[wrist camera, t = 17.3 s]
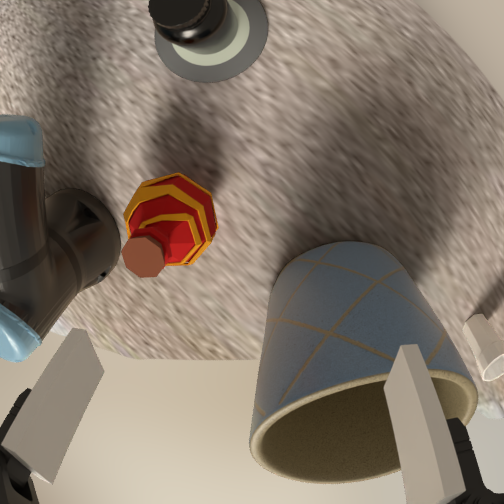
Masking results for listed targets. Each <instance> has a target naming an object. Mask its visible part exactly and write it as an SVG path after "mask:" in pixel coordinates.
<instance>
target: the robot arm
mask: <svg viewBox="0 0 504 504" xmlns="http://www.w3.org/2000/svg"><path fill="white" fill-rule="evenodd" d="M44 166H45V160H44V158H43V142H42V129H41V126H40V124H39V123H38V122H37V121H36V120H35V119H33V118H31V117H28V116H21V115H5V114H0V357H1V358H3V359H5V360H8V361H11V362H21V361H23V360H25V359H27V358H28V357H29V356H30V355H31V353H32V352H33V351H34V350H35V349H36V348H37V346H40V345H41V343H42V340H43V339H44V338H45V336H46V335H47V333H48V332H49V331H50V329H51V328H52V327H53V325H54V324H55V322H56V321H57V320H58V318H59V317H60V316H61V314H62V313H63V312H64V310H65V309H66V308H67V306H68V305H69V304H70V303H71V301H72V300H73V299H74V297H75V296H76V295H77V294H78V293H79V292H81V291H83V290H85V289H87V288H89V287H91V286H93V285H95V284H97V283H99V282H101V281H102V280H104V279H105V278H106V277H107V276H108V275H109V274H110V272H111V271H112V270H113V269H114V267H115V266H116V264H117V262H118V259H119V255H120V237H119V232H118V229H117V226H116V224H115V222H114V220H113V218H112V216H111V214H110V213H109V211H108V210H107V209H106V208H105V206H104V205H103V204H102V203H101V202H100V201H99V200H97V199H96V198H95V197H94V196H92V195H90V194H89V193H87V192H85V191H82V190H79V189H72V188H69V189H63V190H60V191H58V192H56V193H54V194H52V195H51V196H49V197H48V198H46V199H45V190H44ZM103 374H104V370H103V368H102V365H101V363H100V361H99V359H98V357H97V354H96V352H95V350H94V348H93V345H92V343H91V341H90V338H89V336H88V333H87V331H86V330H83V329H77V328H72V330H71V331H70V333H69V334H68V335H67V337H66V338H65V340H64V341H63V343H62V344H61V346H60V347H59V349H58V350H57V352H56V353H55V355H54V356H53V358H52V359H51V361H50V362H49V364H48V365H47V367H46V368H45V370H44V372H43V373H42V375H41V376H40V378H39V379H38V381H37V383H36V384H35V386H34V387H33V389H32V390H31V389H28V388H27V389H26V390H25V391H24V392H23V393H21V394H20V395H19V397H18V398H17V400H16V401H15V403H14V407H12V408H11V410H10V412H9V414H8V415H7V417H6V418H5V420H4V422H3V424H2V425H1V427H0V504H39V502H38V498H37V495H36V491H35V488H34V484H33V481H32V479H31V477H30V474H31V472H32V473H33V474H34V475H35V476H37V477H38V478H40V479H41V480H44V481H46V482H48V483H50V484H53V482H54V479H55V477H56V475H57V473H58V470H59V468H60V465H61V463H62V461H63V458H64V456H65V454H66V451H67V449H68V447H69V445H70V442H71V440H72V438H73V436H74V434H75V432H76V429H77V427H78V425H79V423H80V421H81V419H82V416H83V414H84V412H85V410H86V408H87V406H88V404H89V402H90V400H91V398H92V396H93V394H94V391H95V390H96V388H97V385H98V384H99V382H100V380H101V378H102V376H103ZM384 392H385V396H386V400H387V404H388V408H389V413H390V417H391V421H392V426H393V430H394V435H395V440H396V445H397V450H398V455H399V460H400V465H401V471H402V476H403V481H404V488H405V494H406V500H407V504H504V493H501V494H498V493H493V492H492V491H491V490H489V489H487V488H486V487H485V485H484V483H483V481H482V477H481V474H480V471H479V467H478V463H477V460H476V457H475V454H474V451H473V450H472V448H473V447H472V444H471V441H469V435H468V432H467V429H466V427H465V426H464V424H463V423H462V422H461V421H460V419H459V418H458V417H456V418H451V419H445V416H444V413H443V410H442V407H441V404H440V402H439V399H438V396H437V393H436V390H435V388H434V385H433V382H432V380H431V377H430V374H429V372H428V369H427V367H426V364H425V362H424V359H423V357H422V354H421V352H420V349H419V347H418V345H417V344H410V345H401V346H400V348H399V351H398V354H397V356H396V359H395V361H394V364H393V366H392V369H391V371H390V374H389V376H388V378H387V381H386V383H385V385H384Z"/></svg>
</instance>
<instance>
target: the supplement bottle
mask: <svg viewBox="0 0 504 504" xmlns="http://www.w3.org/2000/svg"><path fill="white" fill-rule="evenodd" d="M148 8H149V13H150V16H151V17H152V18H153V23H154V26H155V29H156V30H157V32H158V33H159V35H160V36H161V37H162V38H164V39H165V40H167V41H168V42H170V43H173V44H175V45H177V46H179V47H182V48H184V49H186V50H188V51H191V52H193V53H196V54H202V55H209V54H214V53H217V52H220V51H222V50H224V49H225V48H226V47H228V46H229V45H230V44H231V43H232V42H233V40H234V39H235V37H236V35H237V31H238V20H237V17H236V15H235V13H234V11H233V9H232V8H231V6H230V4H229V2H228V1H227V0H150V1H149V6H148Z"/></svg>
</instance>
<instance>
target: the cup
mask: <svg viewBox="0 0 504 504" xmlns="http://www.w3.org/2000/svg"><path fill="white" fill-rule="evenodd" d="M462 331H463V333H464V334H465V337H466V339H467V341H468V343H469V345H470V347H471V349H472V352H473V354H474V356H475V358H476V361H477V367H478V369H479V372H480V374H481V377H482V379H483V380H484V381H492V380H494V379H497V378H498V377H500V376H501V375H503V374H504V341H503V340H502V339H501V338H500V337H499V335H498V334H497V332H496V331H495V330H494V328H493V327H492V326H491V324H490V323H489V322H488V321H487V319H486V318H485V317H484V315H483V314H475V315H473V316H472V317H471V318H469V319H468V320H467V321H466V322H465V325H464V327H463V330H462Z"/></svg>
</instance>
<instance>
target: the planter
mask: <svg viewBox="0 0 504 504" xmlns="http://www.w3.org/2000/svg"><path fill="white" fill-rule="evenodd" d="M410 344H417V345H418V347H419V349H420V352H421V354H422V357H423V359H424V362H425V364H426V367H427V369H428V372H429V374H430V377H431V380H432V382H433V385H434V388H435V390H436V393H437V396H438V399H439V402H440V404H441V407H442V410H443V413H444V416H445V419H451V418H456V417H458V418H459V419H460V421H461V422H462V423H463V424H464V426H465V427H466V425H467V424H468V423H469V421H470V420H471V418H472V416H473V415H474V413H475V410H476V407H477V404H478V391H477V388H476V385H475V383H474V381H473V379H472V377H471V375H470V373H469V371H468V369H467V367H466V365H465V363H464V362H463V360H462V358H461V356H460V354H459V352H458V351H457V349H456V347H455V345H454V343H453V342H452V340H451V338H450V336H449V335H448V333H447V331H446V330H445V328H444V326H443V325H442V323H441V322H440V320H439V319H438V317H437V316H436V314H435V313H434V311H433V310H432V308H431V307H430V305H429V304H428V302H427V301H426V299H425V298H424V296H423V295H422V293H421V292H420V290H419V289H418V287H417V286H416V284H415V283H414V281H413V280H412V278H411V277H410V275H409V274H408V273H407V271H406V270H405V268H404V267H403V266H402V264H401V263H400V262H399V261H398V260H397V259H396V258H395V257H394V256H393V255H392V254H391V253H390V252H388V251H387V250H386V249H384V248H382V247H380V246H378V245H374V244H371V243H365V242H357V241H343V242H335V243H330V244H326V245H323V246H319V247H317V248H314V249H311V250H309V251H307V252H305V253H303V254H301V255H299V256H297V257H296V258H294V259H293V260H291V261H290V262H289V263H288V264H287V265H286V266H285V267H284V268H283V270H282V271H281V273H280V274H279V276H278V278H277V281H276V283H275V285H274V287H273V290H272V292H271V295H270V299H269V304H268V311H267V320H266V327H265V335H264V342H263V348H262V354H261V360H260V366H259V372H258V379H257V387H256V394H255V401H254V409H253V417H252V424H251V431H250V438H249V447H250V451H251V454H252V456H253V458H254V459H255V461H256V462H257V463H258V464H259V465H260V466H262V467H263V468H264V469H266V470H268V471H270V472H271V473H274V474H276V475H278V476H281V477H284V478H288V479H291V480H296V481H300V482H306V483H317V484H340V483H351V482H358V481H364V480H369V479H374V478H378V477H381V476H385V475H389V474H392V473H395V472H398V471H400V470H401V465H400V460H399V455H398V450H397V445H396V440H395V435H394V430H393V426H392V421H391V417H390V413H389V408H388V404H387V400H386V396H385V392H384V385H385V383H386V381H387V378H388V376H389V374H390V371H391V369H392V366H393V364H394V361H395V359H396V356H397V354H398V351H399V348H400V346H401V345H410Z"/></svg>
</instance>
